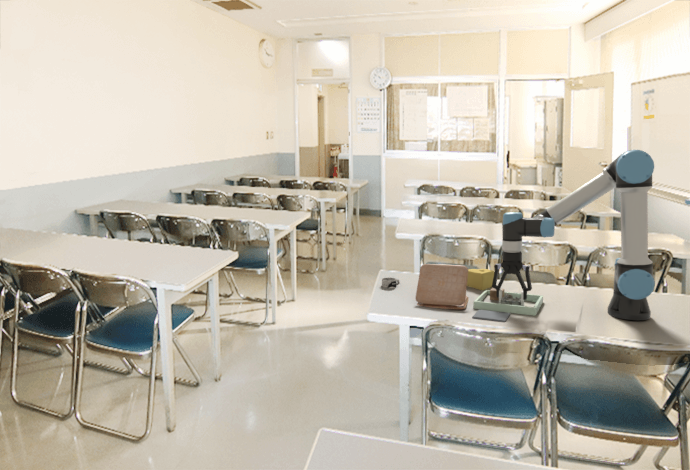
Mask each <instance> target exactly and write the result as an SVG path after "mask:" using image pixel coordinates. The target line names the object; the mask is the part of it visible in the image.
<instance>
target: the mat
mask: <svg viewBox="0 0 690 470" xmlns="http://www.w3.org/2000/svg"><path fill="white" fill-rule="evenodd" d="M510 315H511V313H507V312H499V311H490V310H481V309H477V311H476V312H475V313H474V314H473V315H472V319H477V320H486V321H494V322H502V323H505V322H507V320H508V318H509V317H510Z"/></svg>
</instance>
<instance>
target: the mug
mask: <svg viewBox="0 0 690 470" xmlns="http://www.w3.org/2000/svg"><path fill="white" fill-rule="evenodd" d="M398 283H399V284H401V283H400V279H398V278H396V277H382V278H381V286H382V288H386V289H395V288H397V284H398Z"/></svg>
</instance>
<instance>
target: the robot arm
mask: <svg viewBox="0 0 690 470" xmlns="http://www.w3.org/2000/svg"><path fill="white" fill-rule="evenodd" d="M654 170H655V161H654V160H653V158H652V156H651V155H650V154H649V153H648V152H646V151H643V150H640V149H630V150H627V151H624V152H623V153H621V154H620V155H618V156H617V157H616V159H615V160H613V161H612V162H611V163H609V164H608V165H607V166H605V167H603V169H602V172H601V173H599V174H598V175H597V176H595V177H593V178H592V179H590V180H588V181H587V182H585V183H584V184H582V185H581V186H580V187H577V189H575V190H574V191H572V192H571V193H569V194H567V195H566V196H565V197H563V198H562V199H559V200H558V201H556V202H555V203H554V204H552V205H551V206H548V208H546V209H544V210H542V211H541V212H540V213H539V214H536V215H534V217H524V216H523V213H522V212H520V211H519V212H517V211H515V212H513V211H510V212H509V211H508V212H507V211H506V212H505V213H503V215H502V228H501V229H502V244H501V249H502V253H501V254H502V257H501V258H502V261H501V263H495V264H493V265H494V266H493V267H494V277H493V283H492V287H491V289H492V288H495V289H496V296H497V297H498V298H499V301H498V303H499V304H501V299H502V289H503V288H502V285H503V284H504V281H505V279H506V277H507V275H515V276H516V277H517V280H518V282H519V284H520V287H521V289H522V290H521V292H520V293H521V306H525V301H526V299H527V294H528V292H530V291H531V290H532V289H533V285H532V280H531V275H530V269H531V266H530V265H525V264H523V261H522V260H523V252H522V250H523V237H529V238H530V237H532V238H534V237H535V238H537V237H538V238H551V237H552V238H553V237H554V236H555V230H556V229H555V226H556V225H558V224H560V223H561V222H562V223H563V221H564V220H566V219H568V218H570V217H571V216H573V215H574V214H575V213H578V212H579V211H580V210H582V209H584V208H585V207H587V206H589V205H590V204H592V203H593V202H595V201H597V200H598V199H600V198H601V197H603V196H604V195H606V194H608V193H609V192H611V191H612V190H614V189H616V190H617V191H618V192H619V193H620V237H621V238H620V241H621V242H620V243H621V251H620V253H621V257H616V259H615V262H614V277H613V293H612V297H611V299H610V301H609V304H608V306H607V314H608V315H609V316H612V317H613V318H617V319H621V320H628V321H646V320H650V319H651V313H652V312H651V308H650V306H649V302H648V299H647V298H648V297H649V296H651V294H652V293H653V292H654V290H655V285H656V281H655V279H654V270H653V268H654V265H653V260H651V259H650V258H649V251H648V250H649V244H648V243H649V240H648V237H649V236H648V234H649V229H648V225H649V224H648V223H649V221H648V218H649V217H648V214H649V212H648V210H649V209H648V206H649V205H648V203H649V201H648V197H649V196H648V192H649V190H651V189H652V188H653V173H654ZM501 268H502V269H503V270H504V271H503V273H502V275H501V278H500V279H499V282H498V283H497V281H498V278H499V272H500V269H501ZM522 269H523V271H524V272H525V273H524V274H525V280H526V283H525V281H524V279H523V276H522V273H521V270H522Z"/></svg>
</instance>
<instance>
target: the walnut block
mask: <svg viewBox="0 0 690 470" xmlns="http://www.w3.org/2000/svg"><path fill="white" fill-rule="evenodd" d="M501 289H502V298H503V297H504V292H505V288H501ZM489 290H490V295H489V300H491V301H496V302H499V298H498V297H497V296H496V289H495V288H492V287H491V289H489Z"/></svg>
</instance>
